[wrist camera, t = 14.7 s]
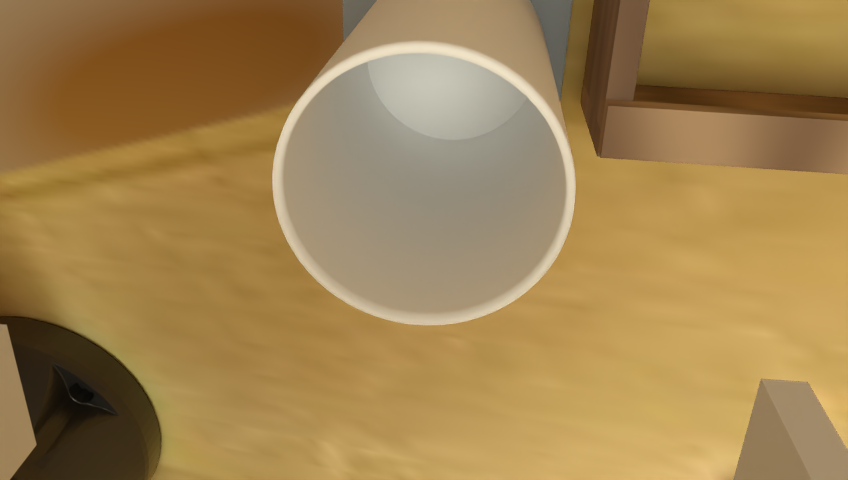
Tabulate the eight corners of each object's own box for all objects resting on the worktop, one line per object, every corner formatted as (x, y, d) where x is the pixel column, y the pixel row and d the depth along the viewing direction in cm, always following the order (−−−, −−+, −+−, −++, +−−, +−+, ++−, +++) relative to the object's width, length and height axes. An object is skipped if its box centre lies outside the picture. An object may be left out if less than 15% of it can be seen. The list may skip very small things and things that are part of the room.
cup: (345, 116, 37) (249, 285, 23) (384, -64, 33) (299, 3, 19) (513, 161, 37) (522, 357, 23) (570, -12, 33) (624, 93, 19)
